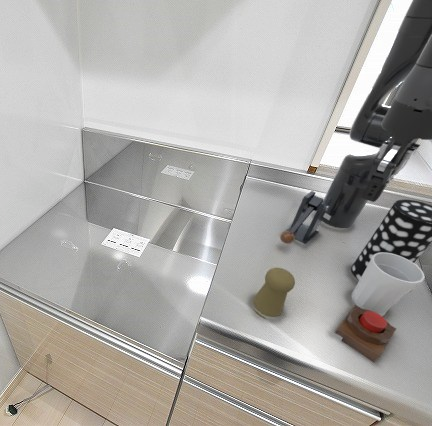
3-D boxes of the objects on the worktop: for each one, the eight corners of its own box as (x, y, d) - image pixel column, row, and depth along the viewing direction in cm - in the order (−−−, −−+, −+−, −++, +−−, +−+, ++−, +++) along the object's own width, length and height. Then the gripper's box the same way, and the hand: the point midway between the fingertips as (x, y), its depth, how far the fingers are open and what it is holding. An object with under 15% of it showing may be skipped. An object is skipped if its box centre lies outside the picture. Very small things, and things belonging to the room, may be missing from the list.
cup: (374, 326, 60) (408, 288, 53) (336, 297, 66) (363, 259, 59) (398, 312, 62) (434, 274, 55) (359, 285, 68) (387, 247, 61)
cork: (284, 322, 61) (304, 288, 54) (253, 317, 62) (269, 283, 55) (277, 298, 66) (294, 265, 59) (249, 294, 67) (262, 261, 60)
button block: (350, 310, 63) (359, 299, 60) (390, 334, 58) (401, 323, 56) (332, 334, 59) (341, 323, 56) (373, 362, 54) (385, 351, 52)
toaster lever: (289, 248, 75) (290, 242, 72) (277, 241, 77) (277, 236, 74) (324, 205, 76) (326, 198, 74) (311, 200, 79) (312, 193, 76)
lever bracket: (304, 247, 79) (323, 208, 71) (282, 235, 83) (298, 198, 75) (317, 234, 83) (337, 197, 75) (296, 224, 87) (313, 187, 79)
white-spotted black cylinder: (353, 286, 68) (402, 218, 56) (345, 262, 74) (388, 196, 62) (397, 297, 65) (458, 228, 53) (385, 270, 72) (437, 203, 60)
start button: (363, 313, 58) (367, 307, 57) (385, 325, 56) (390, 320, 55) (356, 323, 57) (360, 317, 56) (378, 336, 54) (383, 331, 53)
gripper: (409, 87, 48) (359, 179, 59) (381, 103, 42) (330, 202, 52) (473, 97, 43) (406, 194, 54) (452, 116, 37) (380, 222, 47)
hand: (369, 198), depth 53 cm, fingers closed
